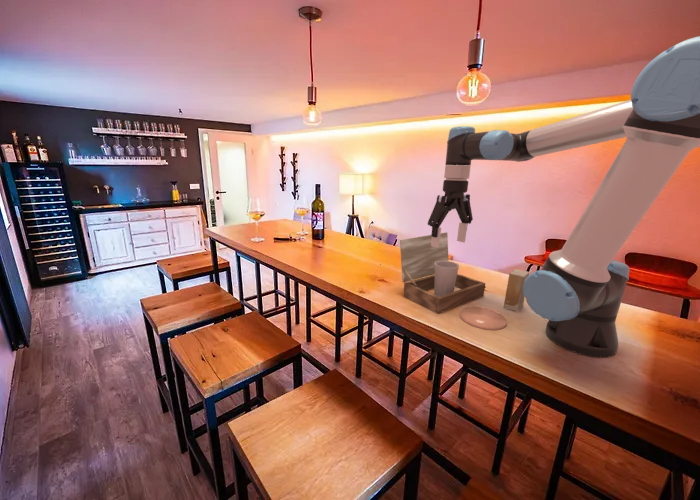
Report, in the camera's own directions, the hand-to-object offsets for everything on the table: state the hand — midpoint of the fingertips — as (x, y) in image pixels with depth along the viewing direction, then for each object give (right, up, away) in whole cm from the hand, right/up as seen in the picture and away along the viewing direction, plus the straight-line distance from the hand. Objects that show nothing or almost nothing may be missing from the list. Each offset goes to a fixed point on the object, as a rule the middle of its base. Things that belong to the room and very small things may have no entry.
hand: (448, 244), depth 99 cm
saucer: (+7, -23, -10) cm, 26 cm away
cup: (0, -19, +5) cm, 19 cm away
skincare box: (+21, -21, -2) cm, 30 cm away
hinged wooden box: (-1, -18, +6) cm, 19 cm away
